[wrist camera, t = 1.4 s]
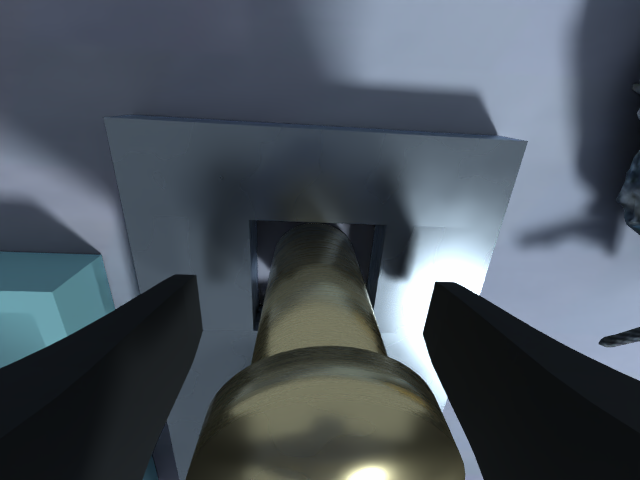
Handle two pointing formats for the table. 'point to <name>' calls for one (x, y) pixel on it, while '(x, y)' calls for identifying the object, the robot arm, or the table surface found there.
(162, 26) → the table surface
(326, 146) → the plate
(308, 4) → the table surface
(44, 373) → the robot arm
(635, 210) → the yellow flat irregular piece
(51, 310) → the tray
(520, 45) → the table surface
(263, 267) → the table surface
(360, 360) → the pin
